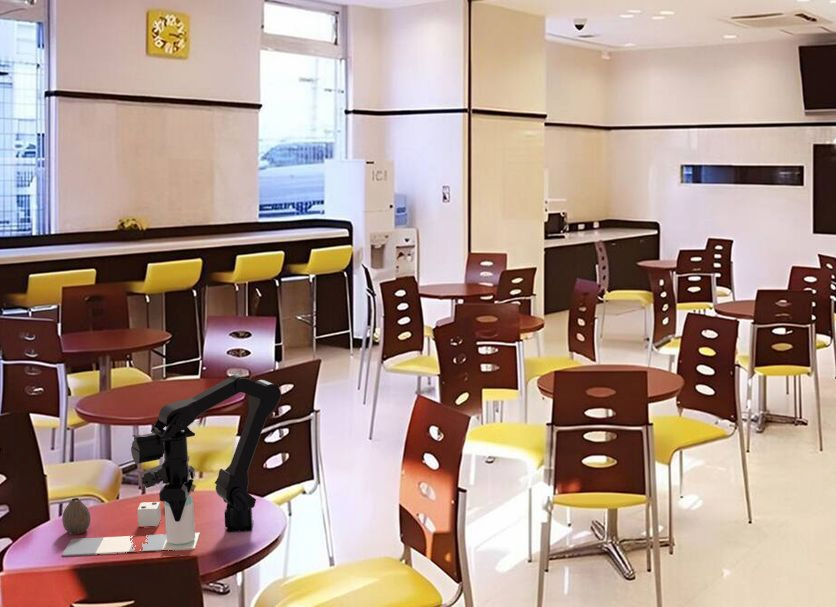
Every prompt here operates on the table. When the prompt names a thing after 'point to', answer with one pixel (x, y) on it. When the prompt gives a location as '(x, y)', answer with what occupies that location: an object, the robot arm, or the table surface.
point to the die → (149, 514)
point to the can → (180, 524)
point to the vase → (76, 517)
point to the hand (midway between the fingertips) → (179, 515)
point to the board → (122, 545)
